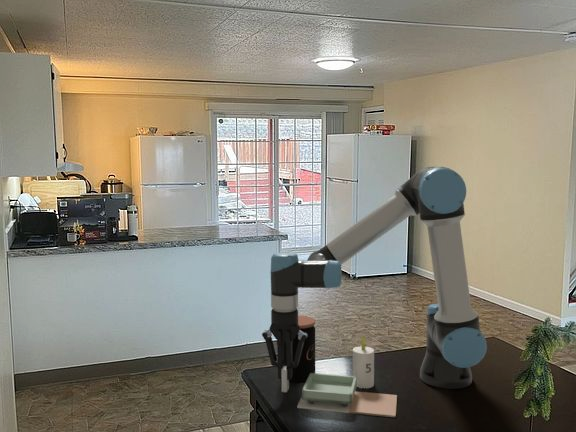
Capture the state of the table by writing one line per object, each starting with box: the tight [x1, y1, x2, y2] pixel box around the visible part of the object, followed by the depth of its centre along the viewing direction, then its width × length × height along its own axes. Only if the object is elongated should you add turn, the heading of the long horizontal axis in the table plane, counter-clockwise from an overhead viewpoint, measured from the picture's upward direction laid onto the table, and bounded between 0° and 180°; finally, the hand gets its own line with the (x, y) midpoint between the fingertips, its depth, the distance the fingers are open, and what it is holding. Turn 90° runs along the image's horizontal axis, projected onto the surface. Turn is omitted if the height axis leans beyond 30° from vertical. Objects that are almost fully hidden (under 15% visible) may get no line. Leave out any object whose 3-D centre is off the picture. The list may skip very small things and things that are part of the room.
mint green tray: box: [301, 372, 357, 407], centre depth 150 cm, size 13×12×4 cm
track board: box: [297, 390, 398, 418], centre depth 149 cm, size 26×13×1 cm, turn 77°
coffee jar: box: [283, 315, 316, 384], centre depth 166 cm, size 11×11×18 cm
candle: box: [352, 334, 375, 390], centre depth 161 cm, size 6×6×15 cm
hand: (285, 390), depth 153 cm, fingers closed
